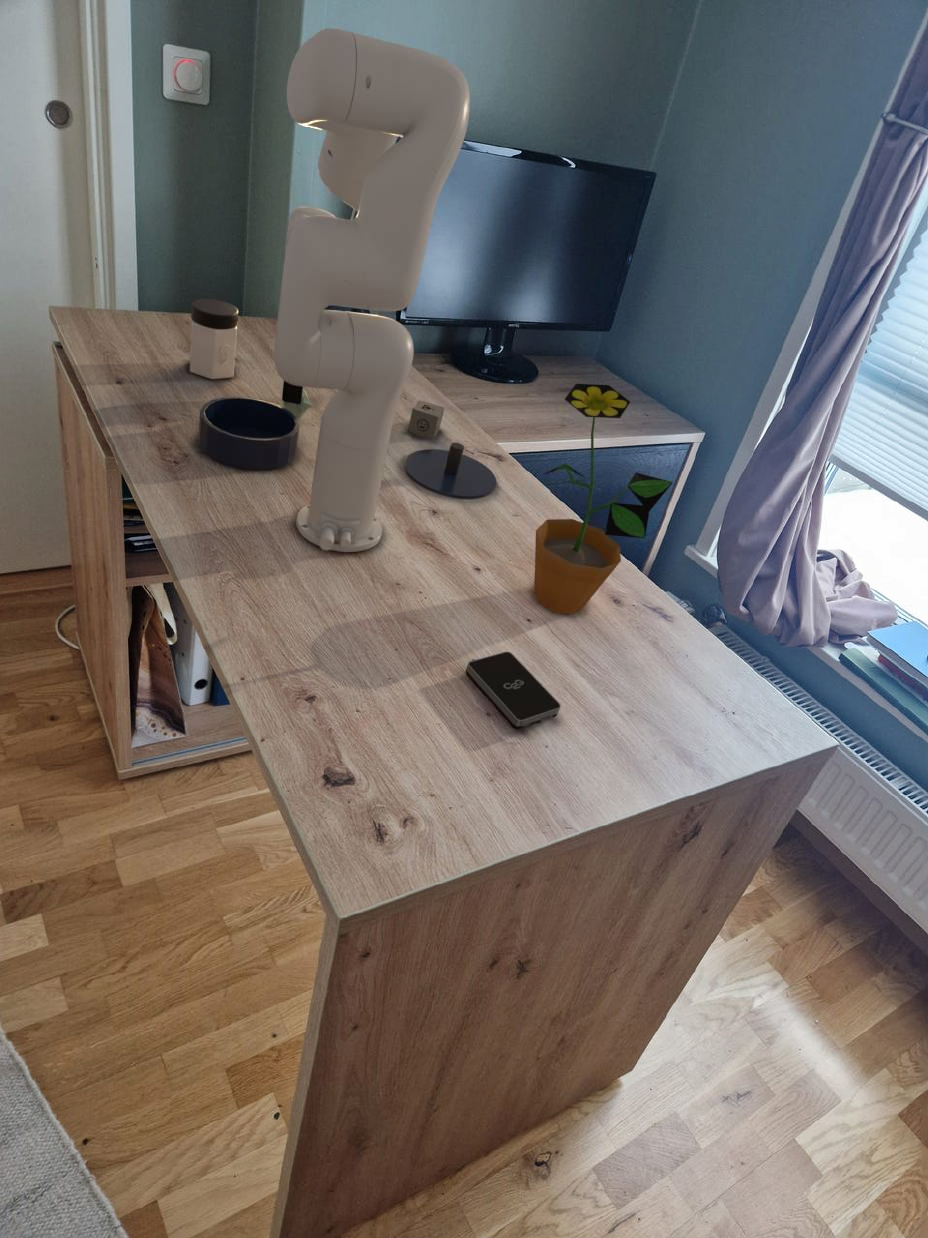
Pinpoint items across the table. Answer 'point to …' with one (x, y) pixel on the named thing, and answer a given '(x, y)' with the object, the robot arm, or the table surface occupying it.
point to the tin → (248, 433)
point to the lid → (450, 472)
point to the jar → (213, 338)
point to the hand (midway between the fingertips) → (295, 392)
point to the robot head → (299, 406)
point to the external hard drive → (512, 690)
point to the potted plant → (576, 550)
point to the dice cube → (426, 419)
